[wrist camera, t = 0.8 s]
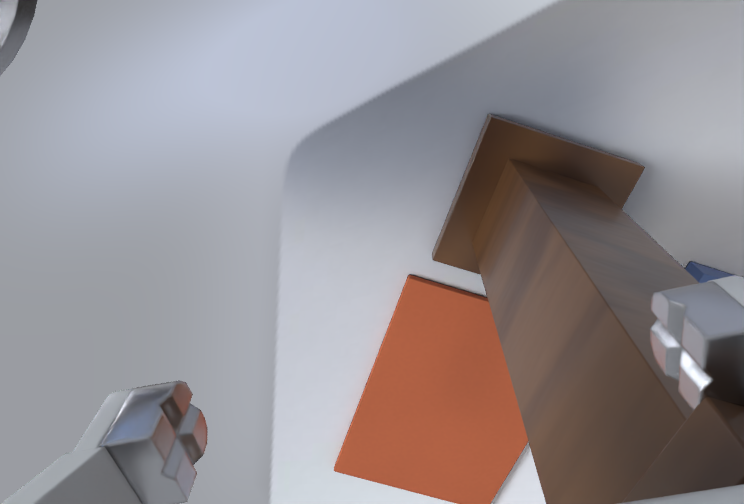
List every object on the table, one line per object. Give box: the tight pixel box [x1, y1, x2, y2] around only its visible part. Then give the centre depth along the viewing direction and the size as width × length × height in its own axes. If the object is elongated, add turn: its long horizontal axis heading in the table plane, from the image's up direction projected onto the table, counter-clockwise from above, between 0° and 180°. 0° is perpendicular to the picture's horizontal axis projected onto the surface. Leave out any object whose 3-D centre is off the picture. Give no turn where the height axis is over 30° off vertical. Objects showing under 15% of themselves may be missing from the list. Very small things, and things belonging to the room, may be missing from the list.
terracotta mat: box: [334, 275, 528, 504], centre depth 41 cm, size 14×20×1 cm
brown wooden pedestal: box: [432, 114, 744, 504], centre depth 22 cm, size 10×10×26 cm
